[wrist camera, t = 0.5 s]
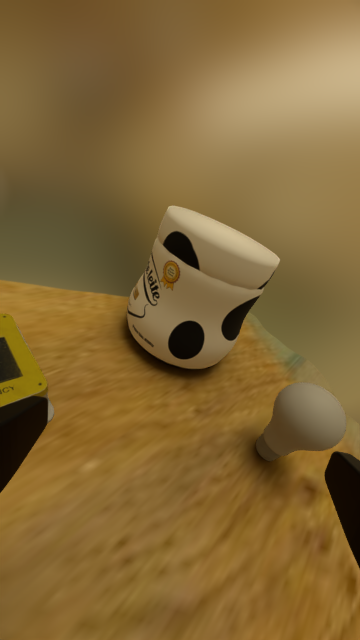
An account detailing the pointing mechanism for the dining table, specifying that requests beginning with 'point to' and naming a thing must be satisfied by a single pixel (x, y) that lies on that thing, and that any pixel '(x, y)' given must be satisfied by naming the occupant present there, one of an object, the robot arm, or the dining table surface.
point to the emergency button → (19, 367)
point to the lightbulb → (302, 422)
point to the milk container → (196, 289)
